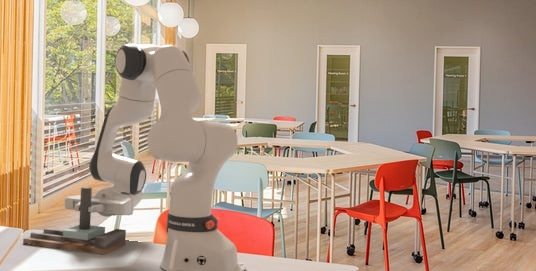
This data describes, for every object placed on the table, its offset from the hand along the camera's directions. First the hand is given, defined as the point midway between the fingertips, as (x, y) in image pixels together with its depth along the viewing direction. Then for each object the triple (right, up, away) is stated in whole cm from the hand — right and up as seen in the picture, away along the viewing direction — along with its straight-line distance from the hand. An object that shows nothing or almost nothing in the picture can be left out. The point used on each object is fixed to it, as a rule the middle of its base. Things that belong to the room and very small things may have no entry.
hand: (83, 208), depth 157 cm
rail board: (-3, -11, +2) cm, 11 cm away
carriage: (0, -8, +1) cm, 8 cm away
